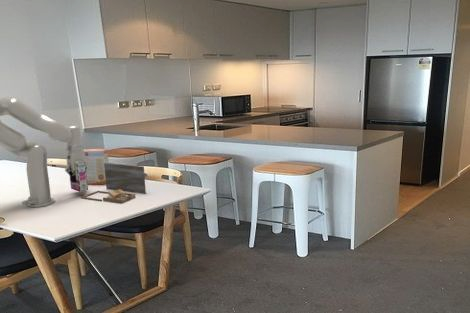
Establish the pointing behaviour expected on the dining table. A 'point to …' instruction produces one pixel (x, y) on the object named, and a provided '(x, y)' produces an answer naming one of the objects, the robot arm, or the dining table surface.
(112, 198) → the offcut middle
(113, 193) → the offcut top
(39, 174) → the robot arm
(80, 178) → the candy bar box
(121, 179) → the rack
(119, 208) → the dining table surface
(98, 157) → the cracker box
